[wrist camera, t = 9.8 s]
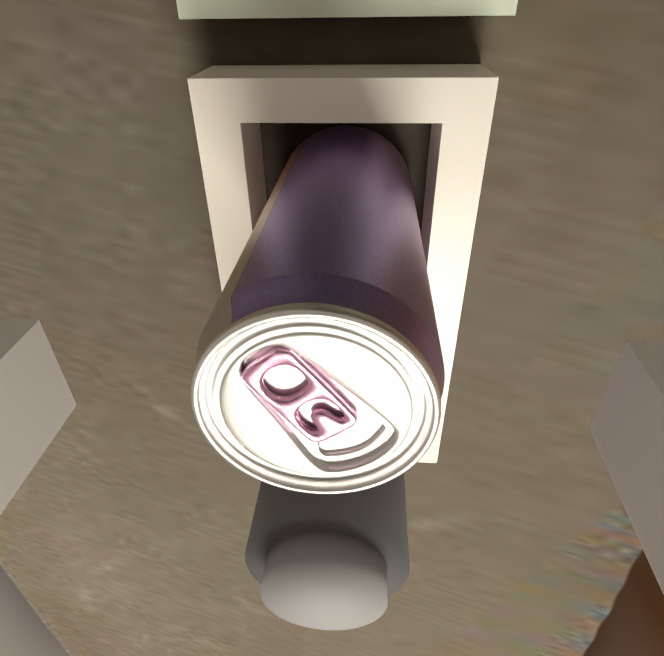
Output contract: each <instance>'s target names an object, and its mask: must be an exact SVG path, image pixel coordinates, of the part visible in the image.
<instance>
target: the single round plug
mask: <svg viewBox="0 0 664 656" xmlns="http://www.w3.org/2000/svg"><path fill="white" fill-rule="evenodd" d="M245 561H246V564H247V567H248V569H249V571H250V573H251V574H252V575H253V577H254V578H255V579H256V580H257V581H258V582H259V583H260V584H262V586H261V598H262V601H263V602H264V604H265V605H266V607H267V608H268V609H269V610H270V611H271V612H273V613H274V614H276V615H277V616H279V617H280V618H282V619H284V620H286V621H288V622H291V623H294V624H297V625H300V626H304V627H308V628H314V629H321V630H346V629H353V628H358V627H362V626H364V625H367V624H370V623H372V622H374V621H375V620H377V619H378V618H379V617H381V616H382V615H383V613H384V612H385V610H386V608H387V605H388V597H389V596H390V595H392V594H393V593H395V592H396V591H397V590H398V589H400V588H401V587H402V585H403V584H404V583H405V581H406V579H407V577H408V574H409V552H408V535H407V518H406V501H405V485H404V473H403V474H401V475H400V476H398V477H396V478H394V479H392V480H390V481H388V482H386V483H384V484H381V485H378V486H375V487H372V488H369V489H365V490H361V491H356V492H350V493H341V494H312V493H303V492H297V491H292V490H287V489H283V488H279V487H276V486H273V485H270V484H267V483H265V482H262V481H261V486H260V490H259V494H258V499H257V503H256V507H255V512H254V516H253V521H252V525H251V529H250V534H249V538H248V543H247V547H246V552H245Z"/></svg>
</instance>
